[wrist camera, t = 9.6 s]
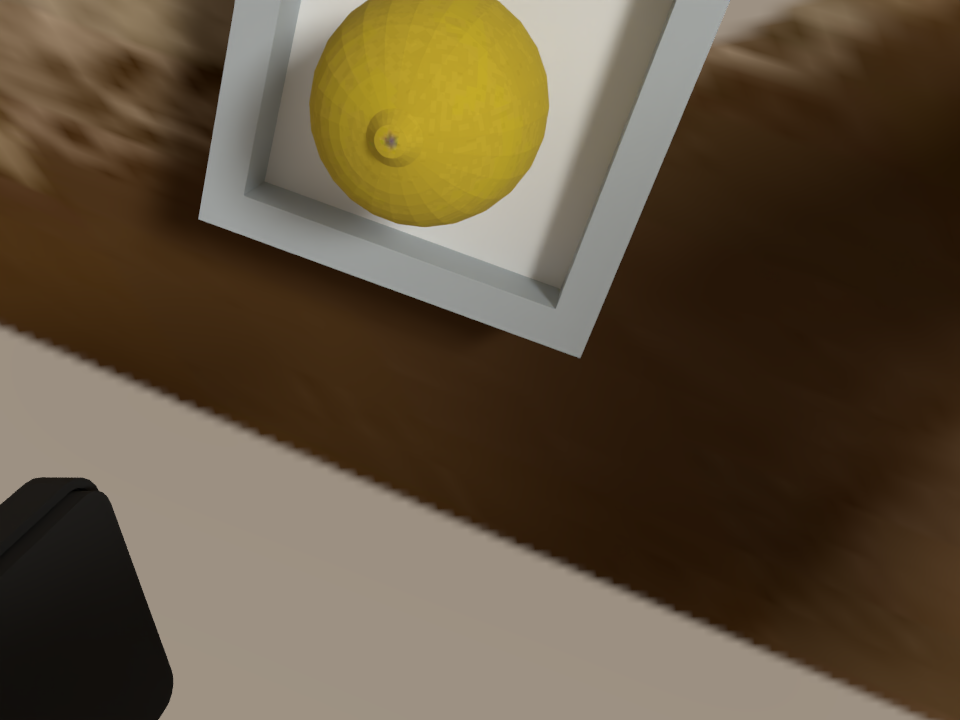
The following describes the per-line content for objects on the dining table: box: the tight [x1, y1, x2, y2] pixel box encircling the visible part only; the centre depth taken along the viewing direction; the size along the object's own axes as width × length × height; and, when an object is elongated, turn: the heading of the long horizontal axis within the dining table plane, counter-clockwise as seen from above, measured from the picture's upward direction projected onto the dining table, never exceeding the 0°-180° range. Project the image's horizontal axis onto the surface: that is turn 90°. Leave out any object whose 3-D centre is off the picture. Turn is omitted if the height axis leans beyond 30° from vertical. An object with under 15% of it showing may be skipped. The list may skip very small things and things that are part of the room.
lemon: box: [309, 0, 549, 227], centre depth 22 cm, size 6×6×8 cm
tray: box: [198, 0, 730, 358], centre depth 26 cm, size 12×12×6 cm
